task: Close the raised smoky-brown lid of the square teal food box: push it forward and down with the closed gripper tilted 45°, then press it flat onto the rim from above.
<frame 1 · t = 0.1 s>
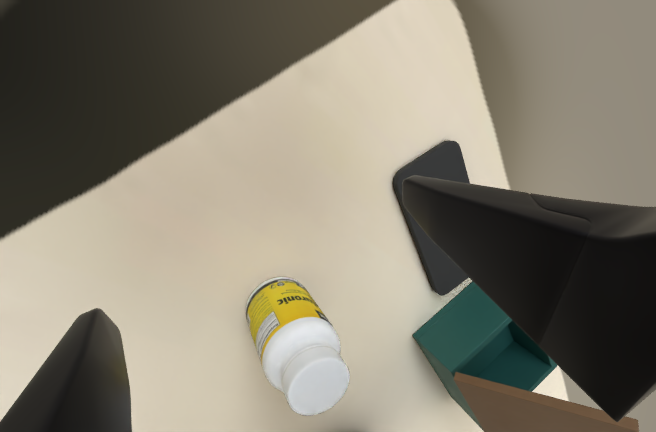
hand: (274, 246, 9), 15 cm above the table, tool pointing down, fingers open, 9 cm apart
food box: (468, 335, 40), on the table
phone: (441, 221, 33), on the table
supplement bottle: (275, 302, 28), on the table
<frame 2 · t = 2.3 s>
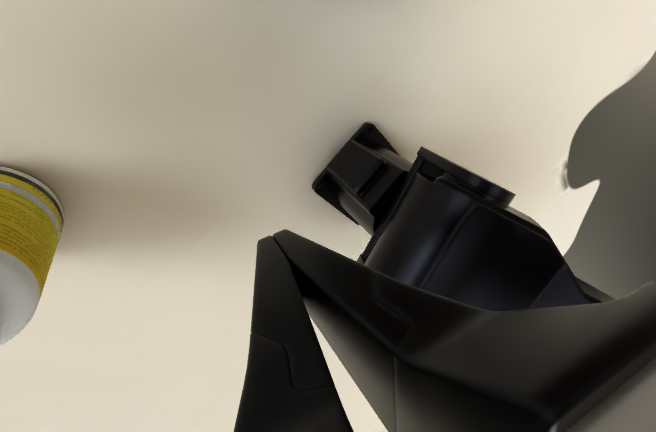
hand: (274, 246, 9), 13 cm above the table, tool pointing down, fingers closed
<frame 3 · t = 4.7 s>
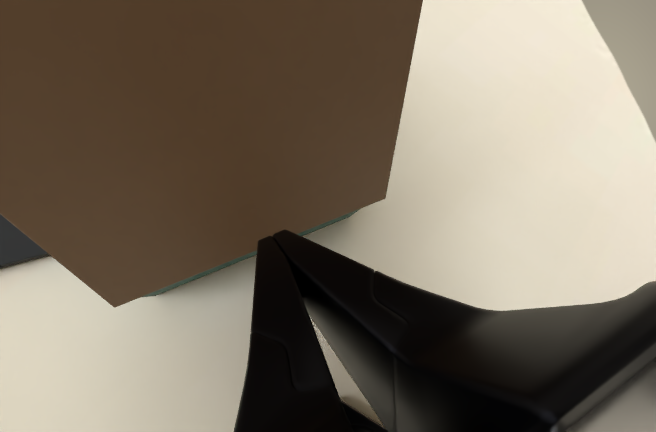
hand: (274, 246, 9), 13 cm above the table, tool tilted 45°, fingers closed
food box: (228, 174, 23), on the table
lid: (234, 136, 11), point 12 cm above the table, hinge at 60.0°
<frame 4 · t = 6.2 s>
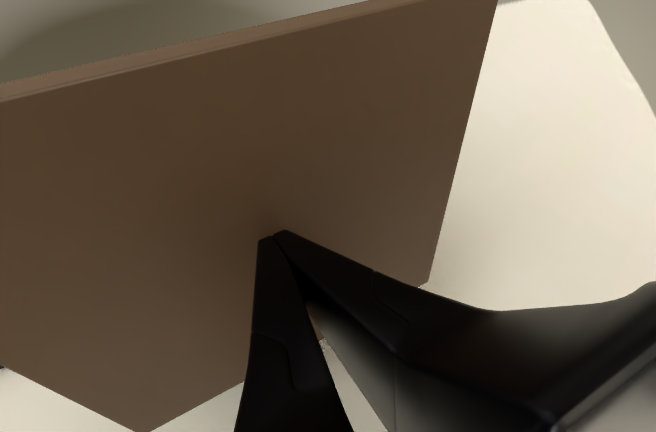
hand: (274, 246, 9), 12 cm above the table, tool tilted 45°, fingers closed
lid: (274, 254, 10), point 11 cm above the table, hinge at 53.5°
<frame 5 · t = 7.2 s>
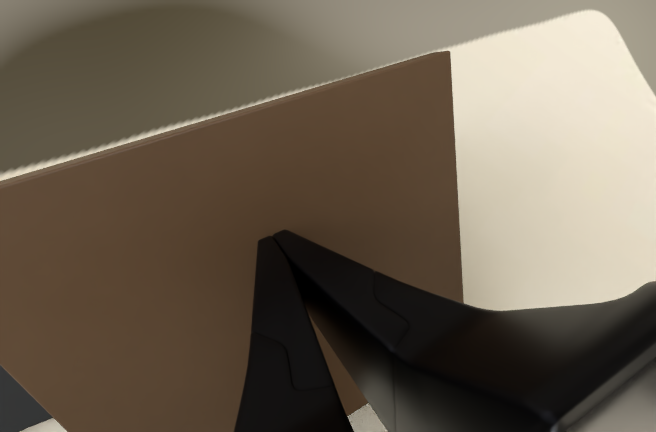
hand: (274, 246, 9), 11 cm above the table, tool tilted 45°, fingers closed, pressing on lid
lid: (293, 303, 11), point 10 cm above the table, hinge at 34.0°, touching gripper
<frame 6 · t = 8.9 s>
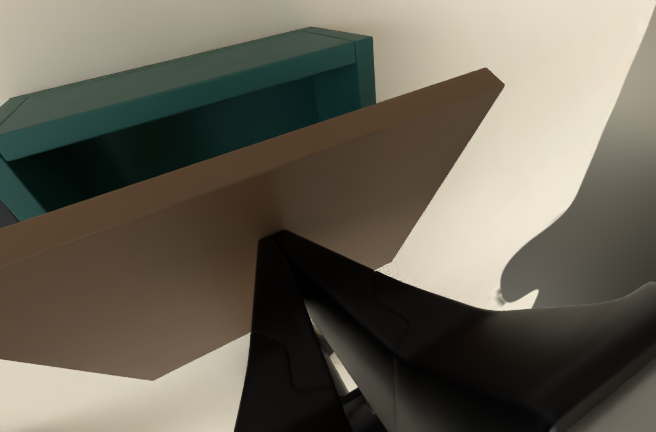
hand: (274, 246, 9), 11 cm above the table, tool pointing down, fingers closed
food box: (221, 167, 19), on the table
lid: (274, 266, 12), point 9 cm above the table, hinge at 25.9°
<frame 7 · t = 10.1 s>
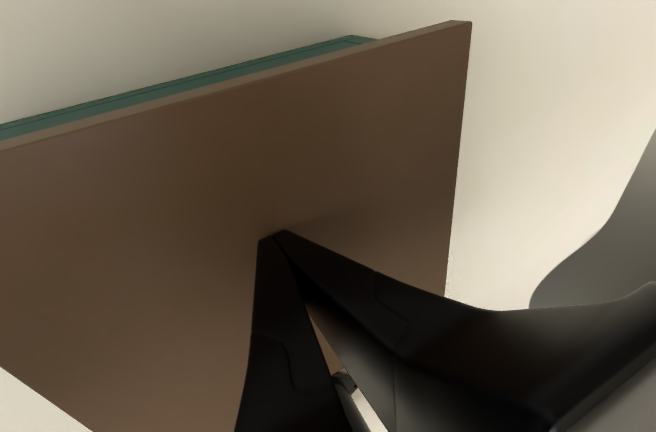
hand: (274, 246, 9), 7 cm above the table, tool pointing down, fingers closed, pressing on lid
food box: (240, 202, 16), on the table
lid: (283, 279, 11), point 6 cm above the table, hinge at -0.3°, touching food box, gripper
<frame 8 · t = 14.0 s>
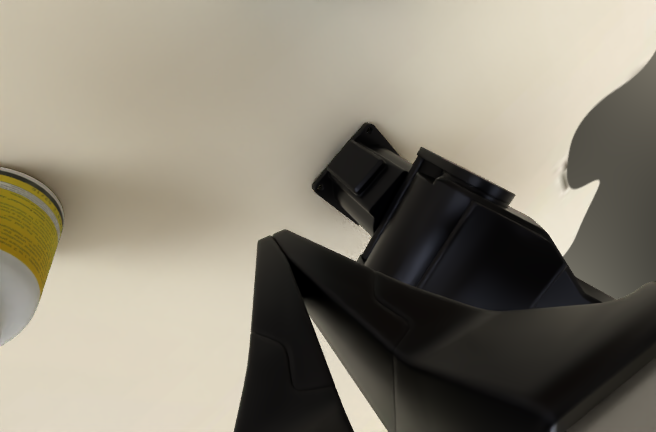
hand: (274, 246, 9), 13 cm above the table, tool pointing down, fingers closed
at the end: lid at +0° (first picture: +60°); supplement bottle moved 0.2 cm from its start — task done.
